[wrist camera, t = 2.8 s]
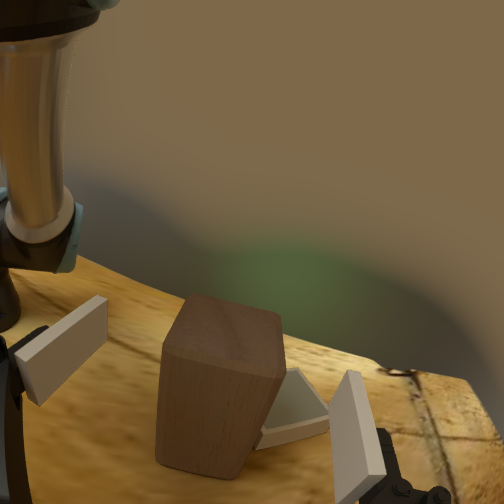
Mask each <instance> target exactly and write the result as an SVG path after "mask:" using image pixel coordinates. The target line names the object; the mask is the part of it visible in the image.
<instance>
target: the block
mask: <svg viewBox="0 0 504 504" xmlns="http://www.w3.org/2000/svg"><path fill="white" fill-rule="evenodd" d="M286 373H287V371H286V361H285V352H284V343H283V334H282V326H281V318H280V316H279V315H278V314H276V313H274V312H271V311H267V310H262V309H258V308H254V307H249V306H245V305H241V304H237V303H233V302H229V301H225V300H220V299H217V298H213V297H209V296H205V295H201V294H190V295H189V296H188V298H187V299H186V300H185V302H184V304H183V306H182V308H181V310H180V312H179V314H178V315H177V317H176V319H175V321H174V323H173V325H172V327H171V329H170V331H169V333H168V334H167V336H166V338H165V340H164V342H163V346H162V355H161V366H160V377H159V390H158V404H157V422H156V449H155V456H156V461H157V462H158V463H160V464H161V465H164V466H168V467H171V468H175V469H179V470H183V471H187V472H191V473H196V474H200V475H205V476H210V477H215V478H221V479H226V480H232V479H235V478H236V477H237V476H238V474H239V472H240V470H241V468H242V466H243V464H244V463H245V461H246V459H247V457H248V455H249V453H250V451H251V449H252V447H253V445H254V443H255V441H256V439H257V437H258V435H259V433H260V431H261V428H262V426H263V424H264V422H265V420H266V418H267V416H268V414H269V411H270V409H271V407H272V405H273V403H274V401H275V398H276V396H277V394H278V392H279V389H280V387H281V385H282V382H283V380H284V378H285V376H286Z"/></svg>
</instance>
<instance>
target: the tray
mask: <svg viewBox="0 0 504 504" xmlns="http://www.w3.org/2000/svg"><path fill="white" fill-rule="evenodd" d="M286 371H287V373H286V376H285V378H284V380H283V382H282V385H281V387H280V389H279V392H278V394H277V396H276V398H275V401H274V403H273V405H272V407H271V409H270V411H269V414H268V416H267V418H266V420H265V422H264V424H263V426H262V428H261V431H260V433H259V435H258V437H257V439H256V441H255V443H254V445H253V447H254V449H255V450H259V449H264V448H269V447H273V446H278V445H282V444H286V443H290V442H294V441H298V440H301V439H305V438H309V437H312V436H315V435H319V434H322V433H325V432H326V431H327V430H328V428H329V427H330V425H329V415H328V405H327V404H326V403H325V402H324V400H323V399H322V398H321V396H320V395H319V394H318V393H317V391H316V390H315V389H314V388H313V386H312V385H311V384H310V382H309V381H308V380H307V378H306V377H305V376H304V375H303V373H302V372H301V371H300V369H299V368H298V367H297V368H289V369H286Z"/></svg>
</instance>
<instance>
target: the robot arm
mask: <svg viewBox="0 0 504 504" xmlns="http://www.w3.org/2000/svg"><path fill="white" fill-rule="evenodd" d="M119 1H120V0H0V159H1V165H2V170H3V175H4V180H5V185H6V188H3V187H0V332H2V331H4V330H6V329H8V328H10V327H11V326H12V325H13V324H15V322H16V321H17V320H18V318H19V316H20V314H21V307H20V300H19V296H18V294H17V292H16V289H15V287H14V284H13V282H12V280H11V277H10V275H9V270H8V268H14V269H24V270H34V271H44V272H52V273H54V274H57V273H69V272H71V271H73V269H74V268H75V264H76V257H77V250H78V243H79V237H80V231H81V225H82V218H83V212H84V208H83V206H82V205H80V204H77V203H75V202H73V198H72V195H71V193H70V191H69V190H68V189H67V188H66V187H65V186H64V185H63V153H64V131H65V117H66V106H67V97H68V89H69V82H70V76H71V69H72V64H73V58H74V53H75V48H76V44H77V39H78V37H79V36H80V35H82V34H83V33H84V32H86V31H87V30H89V29H90V28H91V27H93V26H94V25H95V24H96V23H97V20H98V17H99V14H100V11H103V10H106V9H110V8H113V7H115V6H116V5H117V4H118V3H119ZM8 197H9V198H8ZM107 340H108V299H106V298H104V297H101V296H99V295H96V296H94V297H93V298H91V299H90V300H88V301H87V302H85V303H84V304H82V305H81V306H80V307H78V308H77V309H75V310H74V311H72V312H71V313H69V314H68V315H66V316H65V317H64V318H62V319H61V320H59V321H58V322H57V323H55V324H54V325H52V326H51V327H49V326H47V325H45V326H42V327H39V328H37V329H35V330H34V331H32V332H31V333H30V334H28V335H27V336H25V338H22V339H21V340H20V341H18V342H17V343H15V344H14V345H13V346H11V347H10V348H9V349H7V346H6V342H5V339H4V338H3V336H1V335H0V504H33V503H32V499H31V494H30V488H29V482H28V476H27V469H26V461H25V451H24V438H23V413H22V394H21V393H23V392H24V391H26V394H27V397H28V399H29V400H31V401H32V402H33V403H35V404H36V405H38V406H39V407H40V406H41V405H42V404H43V403H44V402H45V401H46V400H47V399H48V398H49V397H50V396H51V395H52V394H53V393H54V392H55V391H56V390H57V389H58V388H59V387H60V386H61V385H62V384H63V383H64V382H65V381H66V380H67V379H68V378H69V377H70V376H71V375H72V374H73V373H74V372H75V371H76V370H77V369H78V368H79V367H80V366H81V365H82V364H83V363H84V362H85V361H86V360H87V359H88V358H89V357H90V356H91V355H92V354H93V353H94V352H95V351H96V350H97V349H98V348H99V347H100V346H101V345H102V344H104V343H105V342H106V341H107ZM328 415H329V425H330V436H331V447H332V460H333V474H334V490H335V504H354V503H355V502H356V501H358V500H359V504H451V494H450V492H449V491H448V490H447V489H446V488H444V487H442V486H436V487H433V488H432V489H431V490H430V491H428V492H426V491H421V490H416V489H413V487H412V485H411V484H410V483H409V482H408V481H407V480H405V479H403V478H402V477H401V474H400V470H399V466H398V462H397V458H396V454H395V453H394V452H395V451H394V447H393V443H392V440H391V436H390V435H389V434H388V432H387V431H386V430H385V428H376V427H375V423H374V419H373V415H372V411H371V408H370V404H369V400H368V397H367V393H366V390H365V386H364V383H363V379H362V376H361V372H358V371H352V370H347V371H346V373H345V375H344V377H343V379H342V381H341V383H340V384H339V386H338V388H337V390H336V392H335V394H334V395H333V397H332V399H331V401H330V402H329V404H328Z"/></svg>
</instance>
